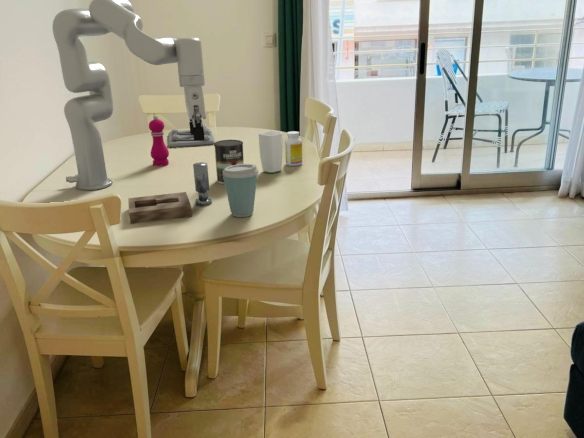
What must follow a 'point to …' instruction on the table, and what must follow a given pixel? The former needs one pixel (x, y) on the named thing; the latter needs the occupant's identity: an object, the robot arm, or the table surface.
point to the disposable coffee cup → (241, 188)
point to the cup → (271, 151)
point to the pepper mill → (158, 143)
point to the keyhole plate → (159, 207)
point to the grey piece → (189, 138)
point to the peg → (201, 184)
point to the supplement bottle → (293, 149)
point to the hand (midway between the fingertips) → (197, 136)
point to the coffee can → (227, 156)
